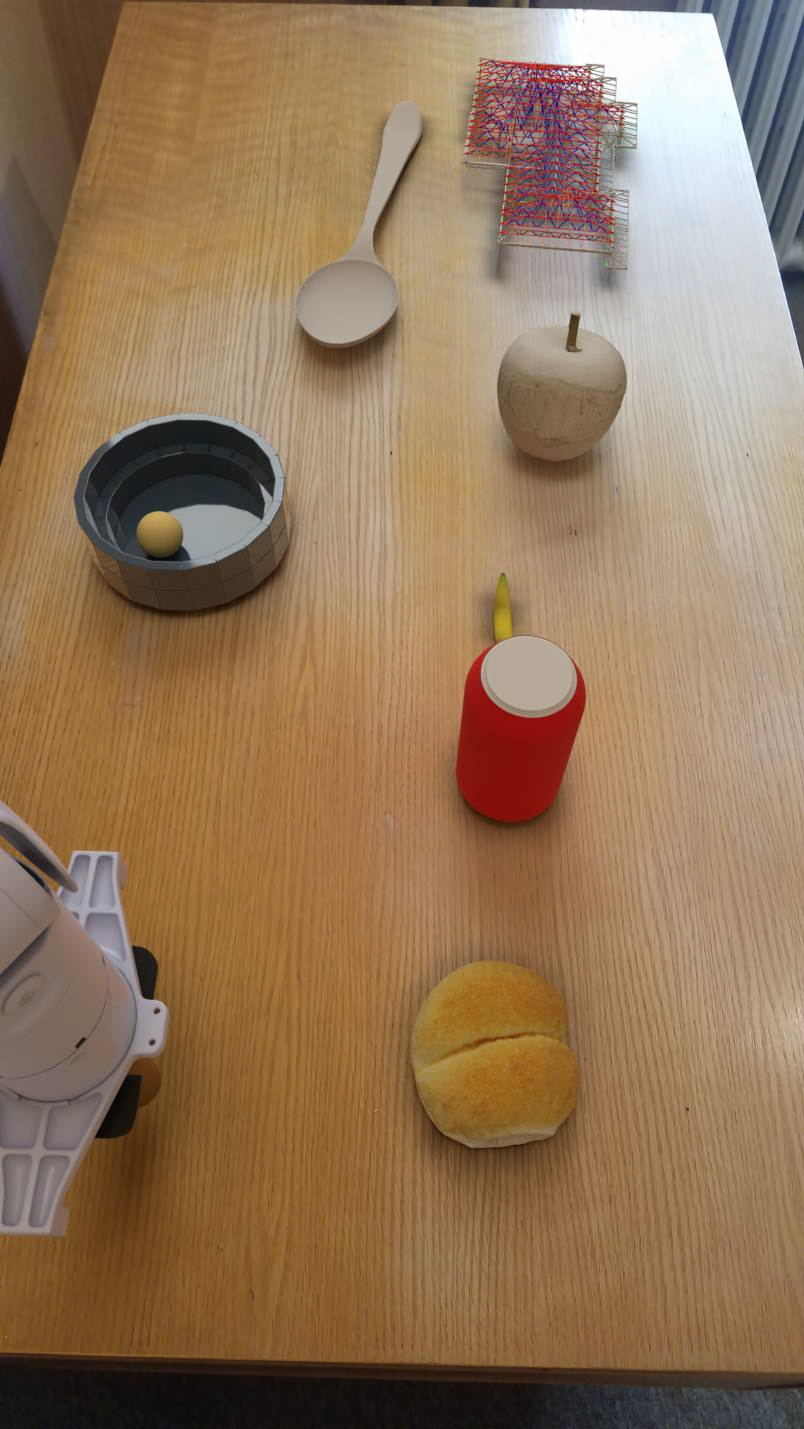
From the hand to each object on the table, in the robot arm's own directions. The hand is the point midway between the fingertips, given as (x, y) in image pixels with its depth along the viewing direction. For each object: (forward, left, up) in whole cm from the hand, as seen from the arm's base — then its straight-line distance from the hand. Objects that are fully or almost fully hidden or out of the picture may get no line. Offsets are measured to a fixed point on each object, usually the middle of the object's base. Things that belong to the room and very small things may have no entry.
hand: (118, 1071), depth 47 cm
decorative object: (+23, +46, -5) cm, 52 cm away
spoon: (+9, +70, -5) cm, 71 cm away
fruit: (+19, +29, -5) cm, 35 cm away
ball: (-4, +34, -2) cm, 35 cm away
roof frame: (+24, +78, -5) cm, 82 cm away
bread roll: (+18, +2, -5) cm, 19 cm away
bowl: (-2, +36, -5) cm, 36 cm away
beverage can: (+19, +18, -5) cm, 27 cm away
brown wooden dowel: (0, 0, -3) cm, 3 cm away
